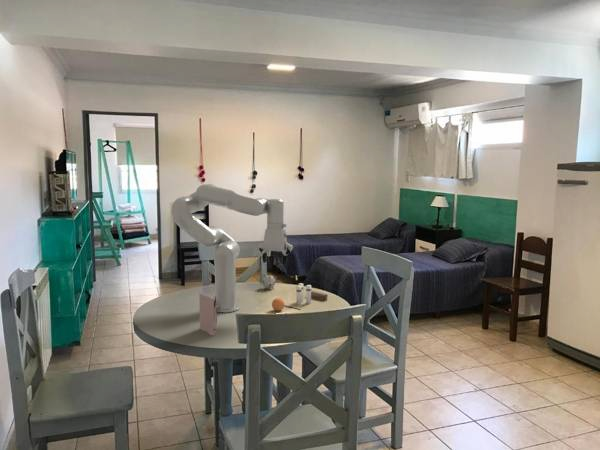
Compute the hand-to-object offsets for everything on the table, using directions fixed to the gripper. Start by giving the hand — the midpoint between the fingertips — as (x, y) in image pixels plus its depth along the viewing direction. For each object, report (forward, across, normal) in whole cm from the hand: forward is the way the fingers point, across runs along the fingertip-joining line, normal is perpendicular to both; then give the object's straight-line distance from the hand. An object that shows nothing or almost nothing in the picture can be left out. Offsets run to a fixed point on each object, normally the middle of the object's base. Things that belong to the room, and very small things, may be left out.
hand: (274, 263), depth 221 cm
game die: (+23, +19, -39) cm, 49 cm away
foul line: (+23, -4, -9) cm, 25 cm away
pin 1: (+23, -6, -21) cm, 32 cm away
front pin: (+23, -7, -16) cm, 29 cm away
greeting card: (+23, +15, +36) cm, 45 cm away
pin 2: (+23, -11, -19) cm, 32 cm away
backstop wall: (+23, -12, -29) cm, 39 cm away
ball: (+20, -1, -2) cm, 20 cm away
